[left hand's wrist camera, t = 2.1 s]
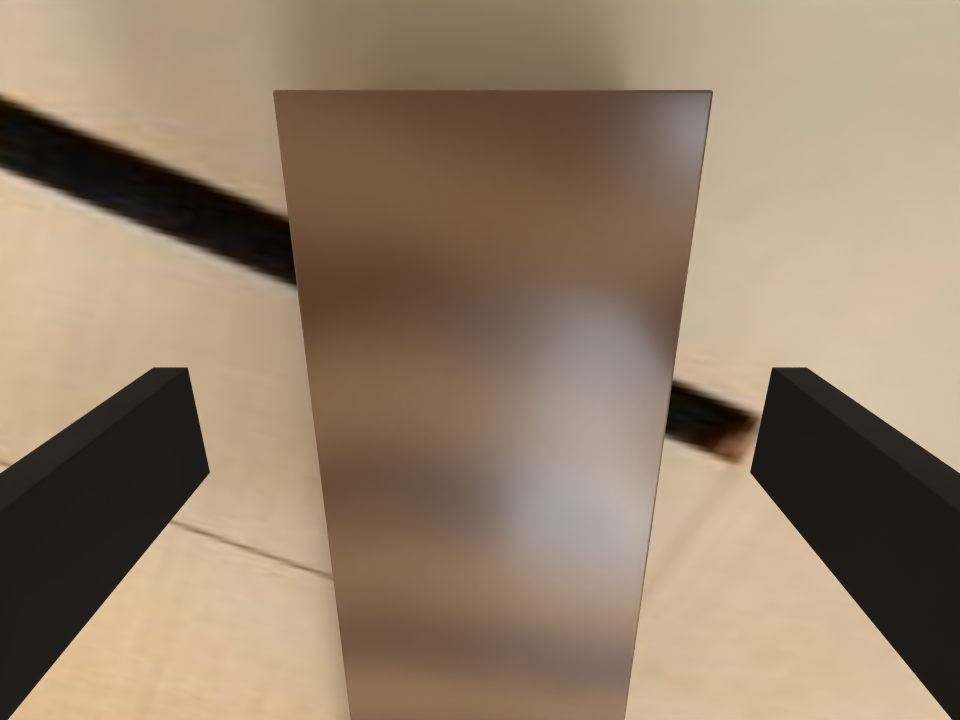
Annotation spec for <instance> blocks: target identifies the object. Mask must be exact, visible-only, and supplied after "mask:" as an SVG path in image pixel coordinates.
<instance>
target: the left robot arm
mask: <svg viewBox="0 0 960 720" xmlns="http://www.w3.org/2000/svg"><path fill="white" fill-rule="evenodd" d="M209 473H210V471H209V466H208V462H207V457H206V452H205V448H204V443H203V438H202V433H201V429H200V424H199V419H198V414H197V410H196V405H195V400H194V395H193V391H192V386H191V381H190V377H189V372H188V368H152V369H151V370H149V371H148V372H146V373H145V374H143V375H142V376H141V377H139V378H138V379H136V380H135V381H133V382H132V383H130V384H129V385H128V386H126V387H125V388H123V389H122V390H120V391H119V392H117V393H116V394H115V395H113V396H112V397H110V398H109V399H107V400H106V401H104V402H103V403H101V404H100V405H99V406H97V407H96V408H94V409H93V410H91V411H90V412H88V413H87V414H86V415H84V416H83V417H81V418H80V419H78V420H77V421H75V422H74V423H73V424H71V425H70V426H68V427H67V428H65V429H64V430H62V431H61V432H60V433H58V434H57V435H55V436H54V437H52V438H51V439H49V440H48V441H46V442H45V443H44V444H42V445H41V446H39V447H38V448H36V449H35V450H33V451H32V452H31V453H29V454H28V455H26V456H25V457H23V458H22V459H20V460H19V461H18V462H16V463H15V464H13V465H12V466H10V467H9V468H7V469H6V470H4V471H3V472H2V473H0V720H8V719H9V718H10V716H11V715H12V714H13V713H14V711H15V710H16V709H17V708H18V707H19V705H20V704H21V703H22V702H23V700H24V699H25V698H26V697H27V696H28V694H29V693H30V692H31V691H32V689H33V688H34V687H35V686H36V685H37V683H38V682H39V681H40V680H41V678H42V677H43V676H44V675H45V674H46V672H47V671H48V670H49V669H50V667H51V666H52V665H53V664H54V663H55V661H56V660H57V659H58V658H59V656H60V655H61V654H62V653H63V651H64V650H65V649H66V648H67V647H68V645H69V644H70V643H71V642H72V640H73V639H74V638H75V637H76V636H77V634H78V633H79V632H80V631H81V629H82V628H83V627H84V626H85V625H86V623H87V622H88V621H89V620H90V618H91V617H92V616H93V615H94V614H95V612H96V611H97V610H98V609H99V607H100V606H101V605H102V604H103V603H104V601H105V600H106V599H107V598H108V596H109V595H110V594H111V593H112V592H113V590H114V589H115V588H116V587H117V585H118V584H119V583H120V582H121V581H122V579H123V578H124V577H125V576H126V574H127V573H128V572H129V571H130V570H131V568H132V567H133V566H134V565H135V563H136V562H137V561H138V560H139V559H140V557H141V556H142V555H143V554H144V552H145V551H146V550H147V549H148V548H149V546H150V545H151V544H152V543H153V541H154V540H155V539H156V538H157V537H158V535H159V534H160V533H161V532H162V530H163V529H164V528H165V527H166V526H167V524H168V523H169V522H170V521H171V519H172V518H173V517H174V516H175V514H176V513H177V512H178V511H179V510H180V508H181V507H182V506H183V505H184V503H185V502H186V501H187V500H188V499H189V497H190V496H191V495H192V494H193V492H194V491H195V490H196V489H197V488H198V486H199V485H200V484H201V483H202V481H203V480H204V479H205V478H206V477H207V475H208V474H209ZM750 473H751V474H752V475H753V477H754V478H755V479H756V480H757V481H758V483H759V484H760V485H761V486H762V488H763V489H764V490H765V491H766V492H767V494H768V495H769V496H770V497H771V499H772V500H773V501H774V502H775V503H776V505H777V506H778V507H779V508H780V510H781V511H782V512H783V513H784V514H785V516H786V517H787V518H788V519H789V521H790V522H791V523H792V524H793V526H794V527H795V528H796V529H797V530H798V532H799V533H800V534H801V535H802V537H803V538H804V539H805V540H806V541H807V543H808V544H809V545H810V546H811V548H812V549H813V550H814V551H815V552H816V554H817V555H818V556H819V557H820V559H821V560H822V561H823V562H824V563H825V565H826V566H827V567H828V568H829V570H830V571H831V572H832V573H833V574H834V576H835V577H836V578H837V579H838V581H839V582H840V583H841V584H842V585H843V587H844V588H845V589H846V590H847V592H848V593H849V594H850V595H851V596H852V598H853V599H854V600H855V601H856V603H857V604H858V605H859V606H860V607H861V609H862V610H863V611H864V612H865V614H866V615H867V616H868V617H869V618H870V620H871V621H872V622H873V623H874V625H875V626H876V627H877V628H878V629H879V631H880V632H881V633H882V634H883V636H884V637H885V638H886V639H887V640H888V642H889V643H890V644H891V645H892V647H893V648H894V649H895V650H896V651H897V653H898V654H899V655H900V656H901V658H902V659H903V660H904V661H905V663H906V664H907V665H908V666H909V667H910V669H911V670H912V671H913V672H914V674H915V675H916V676H917V677H918V678H919V680H920V681H921V682H922V683H923V685H924V686H925V687H926V688H927V689H928V691H929V692H930V693H931V694H932V696H933V697H934V698H935V699H936V700H937V702H938V703H939V704H940V705H941V707H942V708H943V709H944V710H945V711H946V713H947V714H948V715H949V716H950V718H951V719H952V720H960V473H958V472H957V471H956V470H954V469H953V468H951V467H950V466H948V465H947V464H945V463H944V462H942V461H941V460H940V459H938V458H937V457H935V456H934V455H932V454H931V453H929V452H928V451H927V450H925V449H924V448H922V447H921V446H919V445H918V444H916V443H915V442H914V441H912V440H911V439H909V438H908V437H906V436H905V435H903V434H902V433H900V432H899V431H898V430H896V429H895V428H893V427H892V426H890V425H889V424H887V423H886V422H885V421H883V420H882V419H880V418H879V417H877V416H876V415H874V414H873V413H872V412H870V411H869V410H867V409H866V408H864V407H863V406H861V405H860V404H859V403H857V402H856V401H854V400H853V399H851V398H850V397H848V396H847V395H845V394H844V393H843V392H841V391H840V390H838V389H837V388H835V387H834V386H832V385H831V384H830V383H828V382H827V381H825V380H824V379H822V378H821V377H819V376H818V375H817V374H815V373H814V372H812V371H811V370H809V369H808V368H772V372H771V377H770V381H769V386H768V391H767V395H766V400H765V405H764V410H763V414H762V419H761V424H760V429H759V433H758V438H757V443H756V448H755V452H754V457H753V462H752V466H751V471H750Z"/></svg>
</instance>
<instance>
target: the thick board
mask: <svg viewBox="0 0 960 720" xmlns="http://www.w3.org/2000/svg"><path fill="white" fill-rule="evenodd" d="M273 95H274V103H275V111H276V119H277V127H278V135H279V143H280V151H281V159H282V168H283V176H284V184H285V192H286V200H287V208H288V216H289V224H290V232H291V240H292V248H293V256H294V264H295V272H296V280H297V289H298V297H299V305H300V313H301V321H302V329H303V337H304V345H305V353H306V361H307V369H308V377H309V385H310V393H311V401H312V409H313V418H314V426H315V434H316V442H317V450H318V458H319V466H320V474H321V482H322V490H323V498H324V506H325V514H326V522H327V530H328V539H329V547H330V555H331V563H332V571H333V579H334V587H335V595H336V603H337V611H338V619H339V627H340V635H341V643H342V651H343V660H344V668H345V676H346V684H347V692H348V700H349V708H350V716H351V720H624V719H625V712H626V705H627V698H628V691H629V684H630V677H631V670H632V663H633V656H634V649H635V641H636V634H637V627H638V620H639V613H640V606H641V599H642V592H643V585H644V578H645V570H646V563H647V556H648V549H649V542H650V535H651V528H652V521H653V514H654V507H655V500H656V492H657V485H658V478H659V471H660V464H661V457H662V450H663V443H664V436H665V429H666V422H667V414H668V407H669V400H670V393H671V386H672V379H673V372H674V365H675V358H676V351H677V343H678V336H679V329H680V322H681V315H682V308H683V301H684V294H685V287H686V280H687V273H688V265H689V258H690V251H691V244H692V237H693V230H694V223H695V216H696V209H697V202H698V194H699V187H700V180H701V173H702V166H703V159H704V152H705V145H706V138H707V131H708V124H709V116H710V109H711V102H712V95H713V92H712V91H711V90H275V91H274V92H273Z"/></svg>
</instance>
